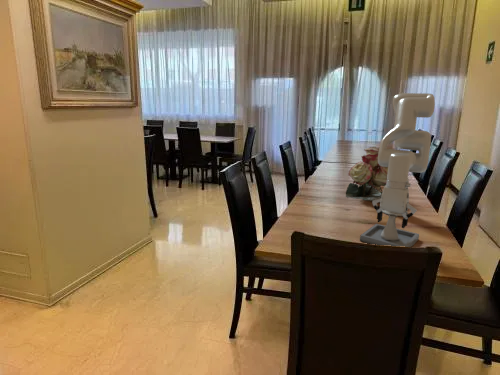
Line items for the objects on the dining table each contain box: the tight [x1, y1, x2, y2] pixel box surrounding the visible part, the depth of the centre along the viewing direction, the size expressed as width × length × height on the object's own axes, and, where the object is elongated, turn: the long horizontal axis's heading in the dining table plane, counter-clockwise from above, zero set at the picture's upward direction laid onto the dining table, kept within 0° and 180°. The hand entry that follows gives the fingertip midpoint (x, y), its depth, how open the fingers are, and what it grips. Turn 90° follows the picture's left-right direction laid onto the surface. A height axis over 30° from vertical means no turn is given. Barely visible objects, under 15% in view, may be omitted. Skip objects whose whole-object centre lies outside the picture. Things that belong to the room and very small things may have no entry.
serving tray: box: [359, 223, 420, 248], centre depth 139 cm, size 18×18×2 cm
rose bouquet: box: [345, 146, 388, 202], centre depth 200 cm, size 26×29×30 cm
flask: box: [381, 214, 399, 241], centre depth 138 cm, size 7×7×10 cm
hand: (391, 224), depth 139 cm, fingers open, 9 cm apart
